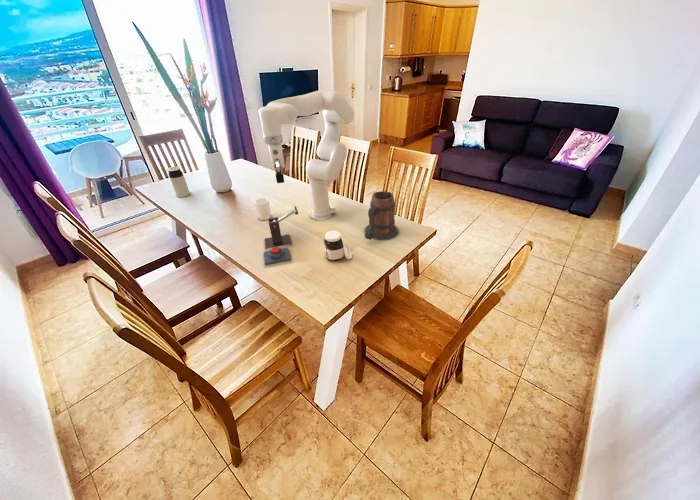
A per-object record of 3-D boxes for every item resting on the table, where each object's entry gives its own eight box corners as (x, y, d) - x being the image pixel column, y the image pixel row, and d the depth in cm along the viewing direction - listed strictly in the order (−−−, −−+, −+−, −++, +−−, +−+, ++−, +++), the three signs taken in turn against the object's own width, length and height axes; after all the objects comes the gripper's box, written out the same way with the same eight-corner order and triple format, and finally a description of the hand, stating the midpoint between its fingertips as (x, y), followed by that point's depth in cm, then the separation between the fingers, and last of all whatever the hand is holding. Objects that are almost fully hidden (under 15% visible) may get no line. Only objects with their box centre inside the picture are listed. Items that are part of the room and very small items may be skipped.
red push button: (279, 249, 134) (279, 246, 133) (280, 253, 131) (279, 250, 130) (271, 250, 133) (270, 247, 132) (272, 255, 131) (271, 252, 130)
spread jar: (322, 252, 137) (320, 231, 131) (345, 246, 141) (344, 225, 134) (331, 267, 128) (330, 245, 122) (355, 260, 132) (355, 238, 125)
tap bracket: (289, 236, 150) (285, 213, 143) (291, 245, 143) (287, 222, 135) (264, 240, 147) (259, 217, 140) (266, 250, 140) (260, 227, 133)
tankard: (375, 219, 161) (375, 185, 150) (403, 227, 154) (406, 192, 142) (351, 240, 145) (350, 203, 134) (382, 250, 138) (384, 212, 126)
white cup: (268, 221, 163) (265, 204, 157) (255, 220, 165) (251, 203, 159) (274, 214, 170) (271, 198, 164) (261, 213, 171) (258, 197, 165)
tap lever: (297, 208, 141) (294, 204, 140) (299, 214, 137) (296, 210, 135) (272, 223, 142) (269, 220, 140) (273, 230, 137) (270, 226, 136)
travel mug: (192, 192, 198) (183, 166, 188) (185, 197, 192) (175, 170, 181) (181, 192, 199) (171, 166, 189) (174, 197, 192) (163, 170, 182)
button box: (288, 251, 139) (287, 244, 137) (290, 262, 132) (289, 255, 130) (264, 255, 137) (262, 248, 135) (265, 267, 130) (263, 259, 127)
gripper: (283, 144, 117) (290, 184, 127) (281, 133, 131) (287, 171, 141) (264, 146, 116) (272, 187, 125) (264, 135, 129) (271, 172, 139)
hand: (280, 178), depth 133 cm, fingers open, 9 cm apart
